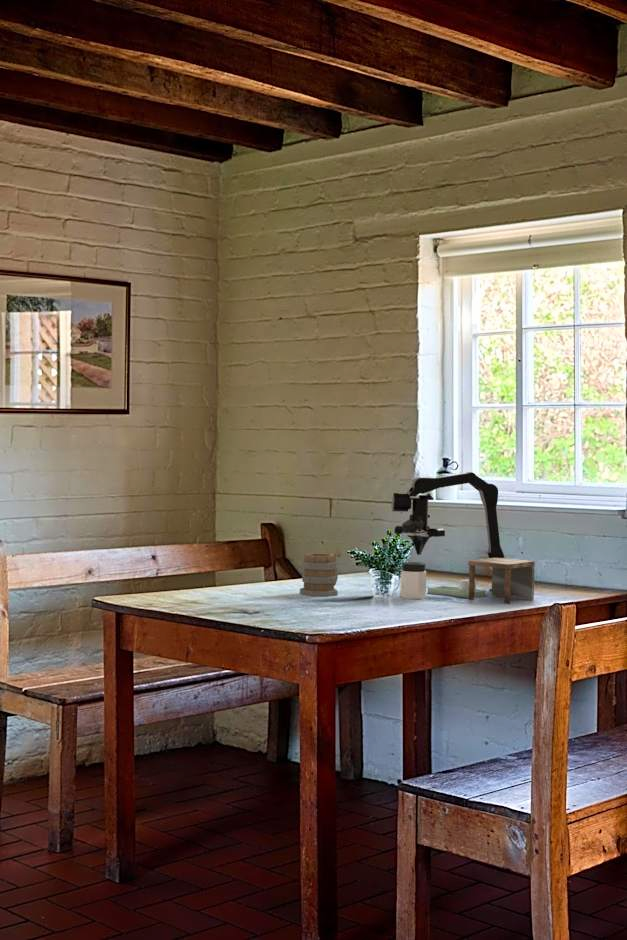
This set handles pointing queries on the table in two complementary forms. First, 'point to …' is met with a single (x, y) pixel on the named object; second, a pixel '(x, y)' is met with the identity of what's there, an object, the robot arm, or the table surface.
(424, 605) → the table surface
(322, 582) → the tankard
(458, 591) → the tray
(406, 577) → the jar
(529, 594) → the stand
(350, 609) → the table surface
